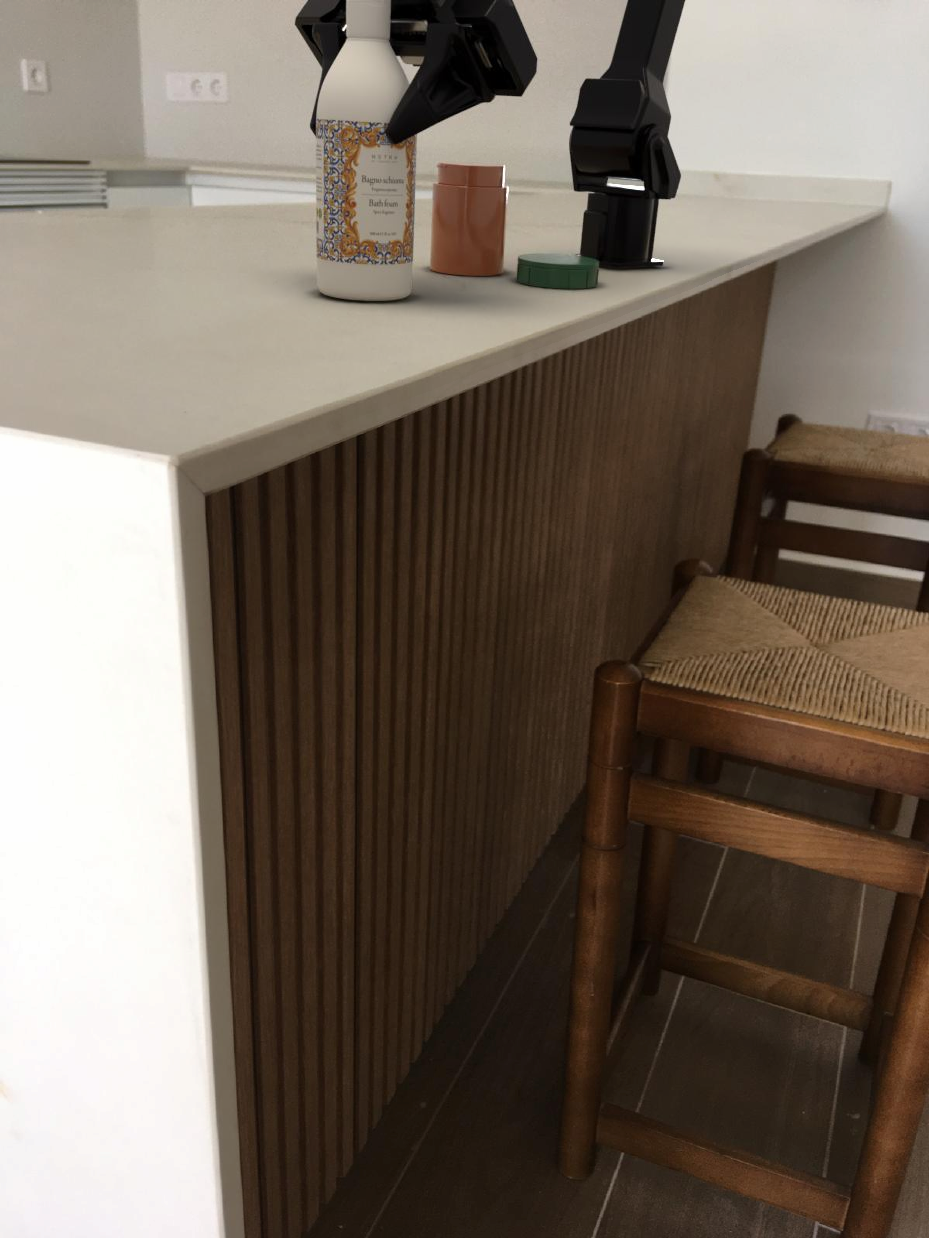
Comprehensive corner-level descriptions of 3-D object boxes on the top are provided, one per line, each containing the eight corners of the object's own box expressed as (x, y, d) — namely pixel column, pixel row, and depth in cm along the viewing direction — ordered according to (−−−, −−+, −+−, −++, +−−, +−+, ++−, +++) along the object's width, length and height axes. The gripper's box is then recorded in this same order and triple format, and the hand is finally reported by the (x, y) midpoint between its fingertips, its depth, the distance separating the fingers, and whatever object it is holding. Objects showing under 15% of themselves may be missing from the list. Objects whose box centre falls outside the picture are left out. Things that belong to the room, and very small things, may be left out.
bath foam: (334, 303, 74) (335, -31, 66) (304, 288, 80) (301, -22, 72) (426, 301, 77) (438, -19, 69) (391, 287, 83) (398, -11, 74)
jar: (475, 264, 98) (480, 162, 94) (517, 274, 93) (525, 167, 89) (415, 267, 94) (419, 160, 90) (457, 277, 89) (462, 166, 86)
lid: (501, 277, 91) (503, 254, 90) (569, 276, 94) (571, 253, 93) (542, 290, 85) (544, 265, 85) (612, 288, 88) (615, 264, 88)
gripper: (313, -132, 75) (192, 33, 72) (525, -158, 65) (395, 34, 61) (388, 9, 84) (284, 161, 81) (585, 6, 73) (474, 181, 70)
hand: (350, 136), depth 73 cm, fingers closed on bath foam, 7 cm apart
